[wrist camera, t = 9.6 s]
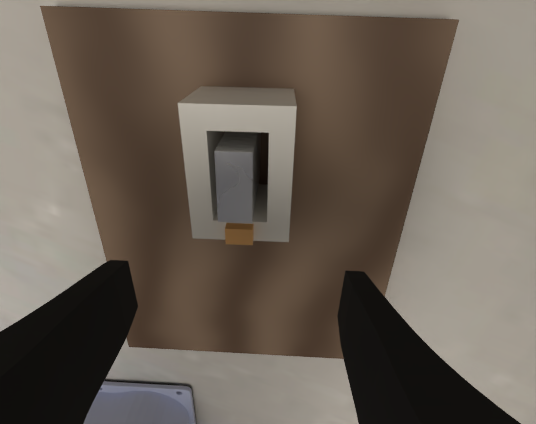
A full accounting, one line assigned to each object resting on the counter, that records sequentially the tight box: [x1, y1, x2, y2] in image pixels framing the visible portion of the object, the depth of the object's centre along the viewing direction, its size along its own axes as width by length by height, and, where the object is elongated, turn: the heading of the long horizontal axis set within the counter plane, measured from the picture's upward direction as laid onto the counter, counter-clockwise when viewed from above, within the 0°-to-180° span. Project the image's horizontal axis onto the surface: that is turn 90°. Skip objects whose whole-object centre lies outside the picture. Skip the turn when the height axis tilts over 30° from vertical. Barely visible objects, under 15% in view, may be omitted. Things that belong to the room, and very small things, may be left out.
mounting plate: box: [40, 6, 459, 359], centre depth 20 cm, size 18×22×1 cm
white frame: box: [178, 86, 297, 245], centre depth 15 cm, size 6×4×4 cm
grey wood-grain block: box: [214, 131, 261, 223], centre depth 15 cm, size 1×3×5 cm, turn 179°
